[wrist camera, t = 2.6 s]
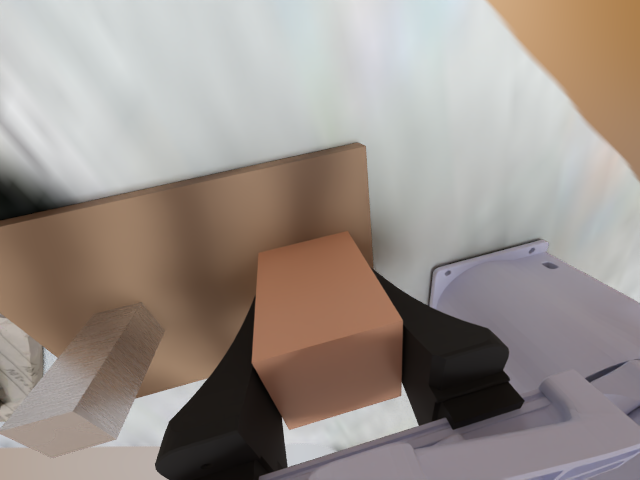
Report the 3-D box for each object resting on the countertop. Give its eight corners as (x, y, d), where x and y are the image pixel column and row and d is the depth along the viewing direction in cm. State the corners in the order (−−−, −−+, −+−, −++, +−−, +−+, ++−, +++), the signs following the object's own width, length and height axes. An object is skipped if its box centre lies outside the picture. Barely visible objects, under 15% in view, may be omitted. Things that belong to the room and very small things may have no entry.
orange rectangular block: (347, 230, 14) (402, 320, 8) (355, 295, 16) (401, 395, 11) (258, 252, 13) (251, 363, 8) (281, 315, 16) (289, 429, 10)
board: (357, 142, 12) (365, 146, 11) (371, 318, 20) (377, 330, 19) (-54, 232, 11) (-87, 245, 10) (125, 386, 18) (117, 403, 17)
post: (141, 301, 13) (73, 411, 9) (165, 331, 15) (116, 439, 10) (94, 313, 13) (-3, 432, 9) (122, 342, 15) (52, 458, 10)
